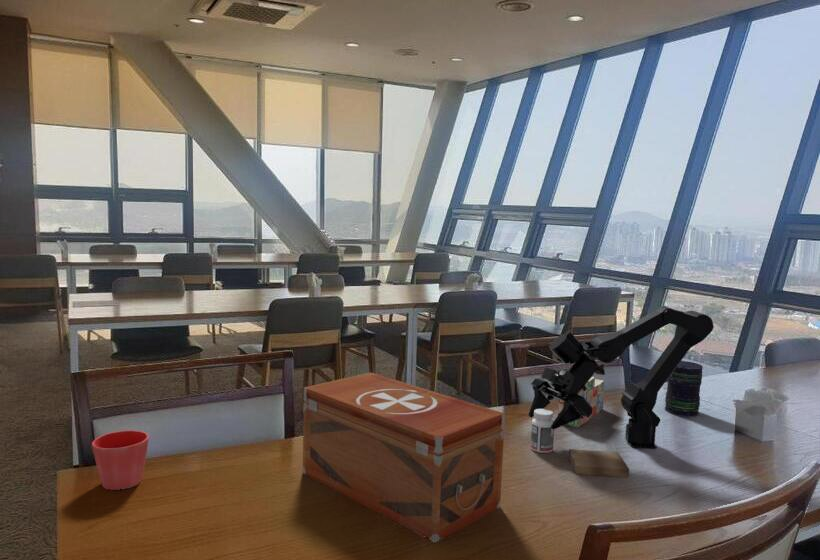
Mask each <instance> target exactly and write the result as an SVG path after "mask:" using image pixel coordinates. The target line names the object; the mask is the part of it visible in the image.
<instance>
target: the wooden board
mask: <svg viewBox="0 0 820 560" xmlns="http://www.w3.org/2000/svg"><path fill="white" fill-rule="evenodd" d="M567 457H568V460H569V462H570V463H571V466H572V469H573V471H574V474H575V475H585V476H586V475H587V476H605V477H622V478H629V476H630V468H629V466H628V465H627V464H626V462H625V460H624V459H623V457H622V456H621V453H619V452H618V451H608V450H607V451H605V450H590V449H571V448H568V453H567Z"/></svg>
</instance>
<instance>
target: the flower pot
mask: <svg viewBox="0 0 820 560" xmlns="http://www.w3.org/2000/svg"><path fill="white" fill-rule="evenodd" d="M149 439H150V435H149V434H148V433H147V432H145V431H142V430H119V431H115V432H114V431H113V432H109V433H106V434H103V435H100V436H98V437H96V438H95V439H93V441H92V443H91V448H92V452H93V457H94V460H95V465H96V468H97V473H98V476H99V479H100V483H101V486H102V488H103V489H105V490H109V489H110V490H109V491H115V490H117V491H119V490H120V489H122V490H126V488H127V489H130V488H133V487H135V486H137V485H139V484H140V483H141V482H142V481H143V480H142V479H143V474H144V470H145V466H146V465H145V464H146V461H147V460H146V458H147V455H148V454H147V453H148V447H149V441H150V440H149ZM120 491H121V490H120Z"/></svg>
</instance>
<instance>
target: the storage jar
mask: <svg viewBox="0 0 820 560" xmlns="http://www.w3.org/2000/svg"><path fill="white" fill-rule="evenodd" d="M702 379H703V365H702V364H699V363H696V362H693V361H686V360H681V362H680V363H679V364H678V366H677V367H676V368H675V370H674V371H673V372H672V374H671V375H670V376H669V378H668V379H667V387H666V392H665V399H664V400H665V401H664V402H665V404H664V405H665V407H664V410H665V412H667V413H669V414H672V415H674V416H679V417H686V418H693V417H697V416H699V410H700V406H701V396H700V392H701V385H702V381H703V380H702Z"/></svg>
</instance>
